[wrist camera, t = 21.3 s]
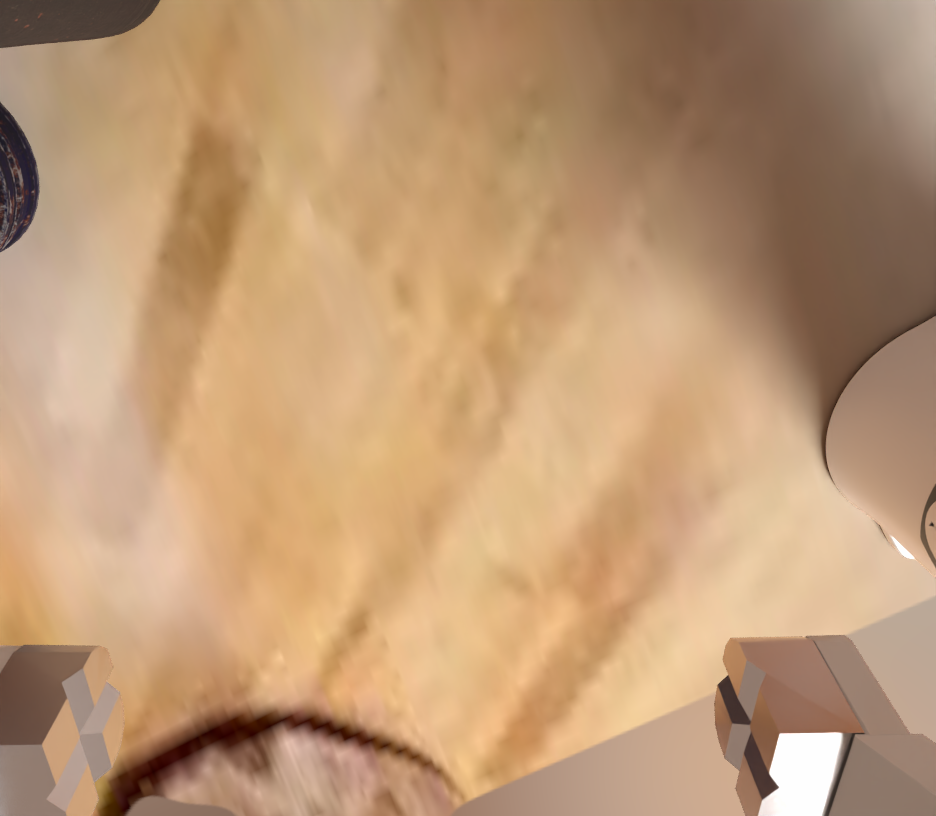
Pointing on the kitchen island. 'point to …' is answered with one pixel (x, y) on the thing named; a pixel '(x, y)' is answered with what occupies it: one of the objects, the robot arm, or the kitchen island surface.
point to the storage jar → (15, 181)
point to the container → (68, 19)
